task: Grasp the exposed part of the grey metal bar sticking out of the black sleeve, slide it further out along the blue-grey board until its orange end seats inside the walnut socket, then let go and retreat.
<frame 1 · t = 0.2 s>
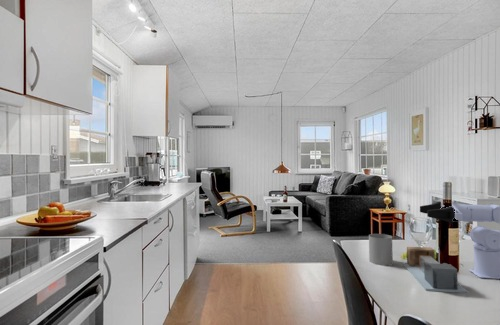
hand: (423, 211, 111), 21 cm above the table, tool horizontal, fingers open, 7 cm apart
cup: (380, 262, 123), on the table
bar: (433, 269, 104), point 3 cm above the table, slide at 0.0 cm
socket: (420, 266, 116), resting on board
sleeve: (440, 286, 98), resting on board
board: (431, 277, 106), on the table
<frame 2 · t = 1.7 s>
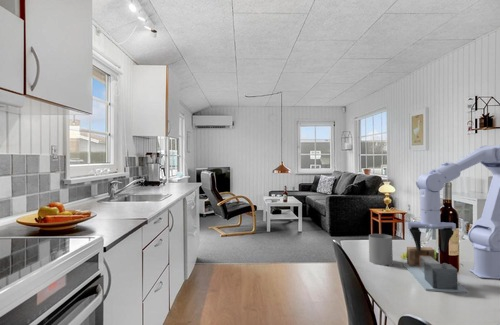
hand: (431, 250, 105), 9 cm above the table, tool pointing down, fingers open, 7 cm apart
nothing on the table moved.
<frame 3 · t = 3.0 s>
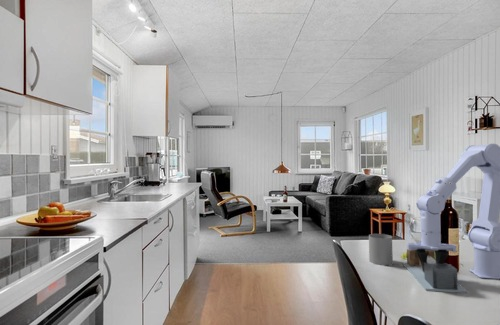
hand: (431, 272, 105), 2 cm above the table, tool pointing down, fingers closed on bar, 3 cm apart
bar: (433, 269, 104), point 3 cm above the table, slide at 0.0 cm, touching gripper
everything else where it was.
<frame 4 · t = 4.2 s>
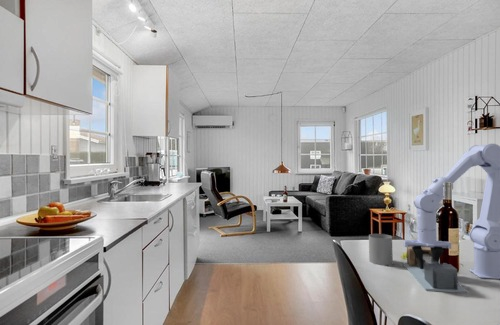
hand: (427, 268, 109), 2 cm above the table, tool pointing down, fingers closed on bar, 3 cm apart
bar: (429, 266, 107), point 3 cm above the table, slide at 3.8 cm, touching gripper
everything else where it was.
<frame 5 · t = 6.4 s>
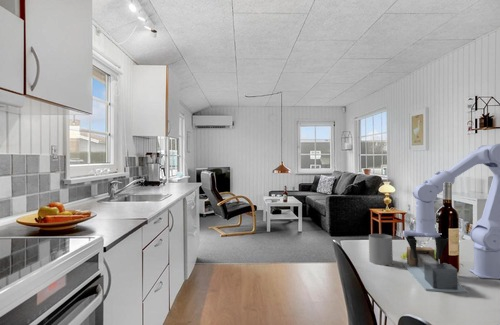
hand: (426, 258, 110), 5 cm above the table, tool pointing down, fingers open, 7 cm apart
bar: (428, 265, 108), point 3 cm above the table, slide at 4.9 cm
everything else where it was.
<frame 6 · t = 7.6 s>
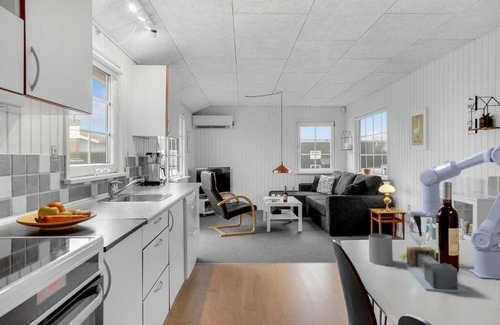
hand: (431, 236, 121), 10 cm above the table, tool pointing down, fingers open, 7 cm apart
nothing on the table moved.
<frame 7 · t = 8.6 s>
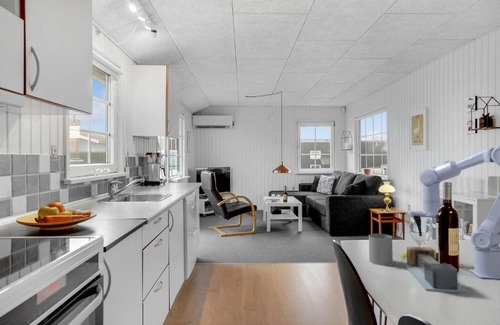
hand: (431, 236, 121), 10 cm above the table, tool pointing down, fingers open, 7 cm apart
nothing on the table moved.
at the end: bar slide at 4.9 cm; the gripper is holding nothing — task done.
